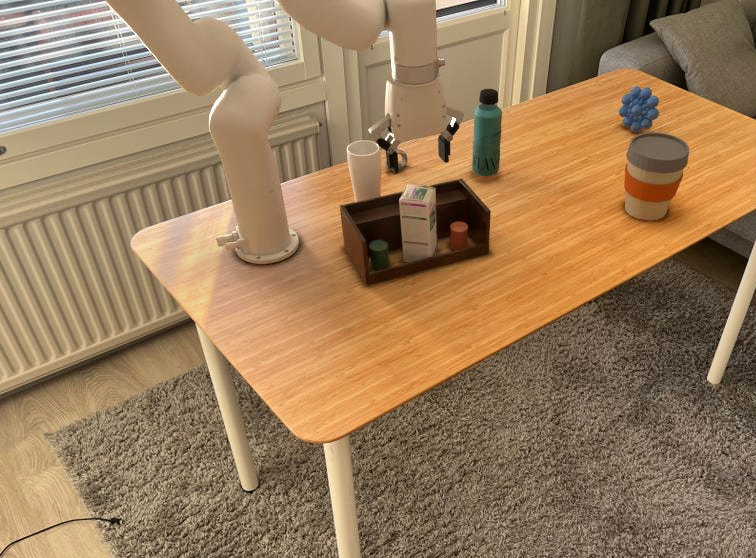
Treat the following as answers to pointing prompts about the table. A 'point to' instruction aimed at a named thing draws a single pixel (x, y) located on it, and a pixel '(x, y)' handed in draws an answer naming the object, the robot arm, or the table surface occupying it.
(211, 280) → the table surface
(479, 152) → the beverage bottle
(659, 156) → the reusable coffee cup
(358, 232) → the spice rack
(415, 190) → the syrup box
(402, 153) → the wristwatch
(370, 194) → the drinking glass
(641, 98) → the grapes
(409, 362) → the table surface
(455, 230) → the salmon pink cylinder
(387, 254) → the green spice tin
